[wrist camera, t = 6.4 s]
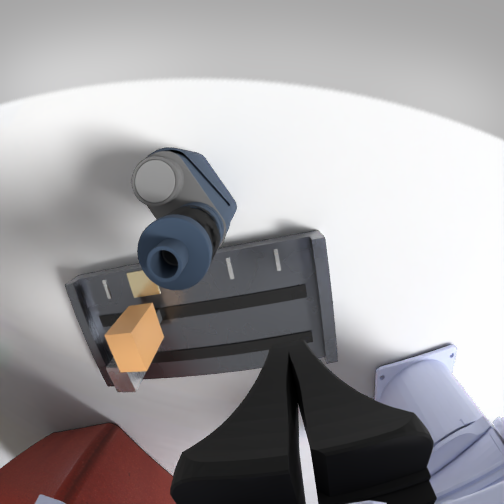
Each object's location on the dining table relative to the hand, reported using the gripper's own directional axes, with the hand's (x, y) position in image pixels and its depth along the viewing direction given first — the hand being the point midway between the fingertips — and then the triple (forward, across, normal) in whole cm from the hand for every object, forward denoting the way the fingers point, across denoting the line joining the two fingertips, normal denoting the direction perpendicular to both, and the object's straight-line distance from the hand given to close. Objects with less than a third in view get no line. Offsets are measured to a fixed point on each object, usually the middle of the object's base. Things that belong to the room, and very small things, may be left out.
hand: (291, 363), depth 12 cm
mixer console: (+10, +6, +2) cm, 12 cm away
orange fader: (+9, +9, +1) cm, 12 cm away
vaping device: (+10, +3, -7) cm, 13 cm away
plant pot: (+10, +23, +20) cm, 32 cm away
